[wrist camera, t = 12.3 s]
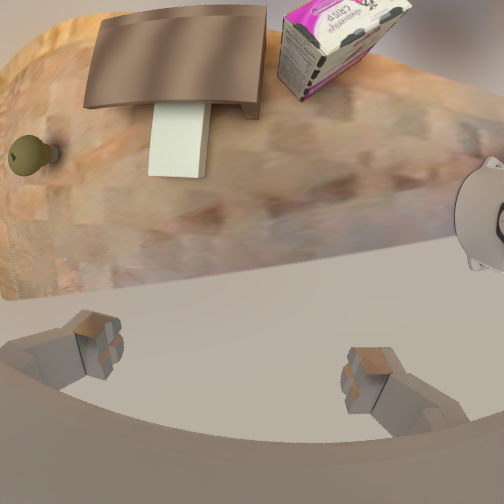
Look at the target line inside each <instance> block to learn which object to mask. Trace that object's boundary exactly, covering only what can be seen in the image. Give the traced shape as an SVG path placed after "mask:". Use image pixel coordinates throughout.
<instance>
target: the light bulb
mask: <svg viewBox="0 0 504 504" xmlns="http://www.w3.org/2000/svg"><path fill="white" fill-rule="evenodd" d="M58 157H59V150H58V148H56V147H50V146H48V145H47V144H44V143H43V142H42V141H41V140H40V139H39V138H37V137H35V136H33V135H25V136H22V137H20V138H19V139H17V140H16V141H15V142H14V143H13V145H12V146H11V148H10V151H9V155H8V162H9V166H10V168H11V170H12V171H13V172H14V173H15V174H17V175H19V176H29V175H32V174H34V173H35V172H36V171H38V170H39V169H40V168H41V167H42V166H44V165H46V164H47V163H54V162H56V161H57V159H58Z"/></svg>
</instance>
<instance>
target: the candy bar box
mask: <svg viewBox="0 0 504 504" xmlns="http://www.w3.org/2000/svg"><path fill="white" fill-rule="evenodd" d="M411 7H412V5H411V4H410V3H409V2H408V1H407V0H310V1H308V2H307V3H305V4H303V5H301V6H299V7H298V8H296V9H294V10H292V11H291V12H289V13H287V14H286V15H284V18H283V29H282V38H281V47H280V49H281V50H280V56H279V66H278V75H277V76H278V78H279V79H280V80H281V81H282V82H283V83H284V84H285V85H286V86H287V87H288V88H289V89H290V90H291V91H292V92H293V93H294V95H295V96H296V97H297V98H298V99H299V100H300V101H301V102H303V101H304V100H305V99H307V98H308V97H309V96H311V95H312V94H313V93H315V92H316V91H318V90H319V89H320V88H322V87H323V86H324V85H326V84H327V83H329V82H330V81H331V80H333V79H334V78H336V77H337V76H338V75H340V74H341V73H343V72H344V71H346V70H347V69H349V68H350V67H351V66H353V65H354V64H356V63H358V62H359V61H361V60H362V58H363V57H364V56H365V55H366V54H367V53H368V52H369V51H370V49H371V48H372V47H373V46H374V45H375V44H376V43H377V42H378V41H379V40H380V39H381V38H382V36H384V35H385V33H387V31H388V30H389V29H390V28H391V27H392V26H393V25H394V24H395V23H396V22H397V21H398V20H399V19H400V18H401V17H402V16H403V15H404V14H405V13H406V12H407V11H408V10H409V9H410V8H411Z"/></svg>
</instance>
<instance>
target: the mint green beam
mask: <svg viewBox="0 0 504 504" xmlns="http://www.w3.org/2000/svg"><path fill="white" fill-rule="evenodd" d="M211 106H212V103H159V104H155V106H154V114H153V123H152V133H151V144H150V156H149V171H148V176H172V177H192V178H200V177H205V168H206V156H207V145H208V135H209V125H210V115H211Z"/></svg>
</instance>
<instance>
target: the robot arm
mask: <svg viewBox="0 0 504 504" xmlns="http://www.w3.org/2000/svg"><path fill="white" fill-rule="evenodd" d="M455 227H456V233H457V237H458V239H459V242H460V244H461V246H462V247H463V249H464V250H465V252H466V254H467V257H468V263H469V267H470V269H471V270H474V271H480V270H485V269H490V268H491V269H493V270H495V271H497V272H499V273H501V274H504V164H502V163H501V162H500V161H499V160H498V159H496V158H495V157H492V156H489V157H487V158H486V160H485V161H484V163H483V165H482V167H480V168H479V169H478V170H476V171H474V172H473V173H471V174H470V175H469V176H468V177H467V179H466V180H465V182H464V183H463V185H462V187H461V189H460V192H459V195H458V198H457V202H456V208H455ZM120 330H121V322H120V320H119V319H118V318H117V317H113V316H109V315H105V314H101V313H97V312H94V311H90V310H81V311H80V312H79V313H78V314H77V315H76V316H75V317H73V318H72V319H71V320H70V321H69V322H68V323H67V324H65V325H64V326H63V327H62V328H61V329H60V328H55V329H51V330H48V331H44V332H41V333H37V334H33V335H30V336H26V337H22V338H19V339H15V340H11V341H8V342H7V343H6V344H4V345H3V346H2V347H1V348H0V504H504V411H502V412H499V413H496V414H493V415H490V416H487V417H484V418H481V419H477V420H474V421H471V422H470V420H469V419H468V417H467V416H466V414H465V412H464V411H463V409H462V407H461V406H460V404H459V403H458V402H457V401H456V400H454V399H452V398H450V397H449V396H447V395H446V394H444V393H442V392H440V391H439V390H437V389H435V388H434V387H432V386H431V385H429V384H427V383H425V382H424V381H422V380H421V379H419V378H417V377H415V376H414V375H412V374H410V373H409V374H407V373H406V371H405V370H404V368H403V366H402V364H401V363H400V361H399V359H398V357H397V356H396V354H395V353H394V351H393V349H392V348H390V347H378V348H351V349H350V350H349V353H348V356H347V358H348V361H349V363H348V364H347V365H345V366H344V368H343V371H342V374H341V389H342V392H343V393H344V394H346V395H347V396H346V398H345V403H346V408H347V411H348V414H370V413H371V415H372V416H373V417H374V418H375V419H376V420H377V421H378V422H379V423H380V424H381V425H382V426H383V427H384V428H385V429H386V430H387V431H388V432H389V433H390V434H391V435H392V436H393V437H394V438H387V439H378V440H369V441H358V442H341V443H284V442H268V441H267V442H266V441H255V440H244V439H236V438H228V437H221V436H214V435H207V434H202V433H196V432H191V431H186V430H181V429H176V428H171V427H166V426H163V425H158V424H154V423H151V422H147V421H143V420H139V419H136V418H132V417H129V416H126V415H122V414H119V413H116V412H113V411H110V410H107V409H104V408H101V407H98V406H95V405H93V404H90V403H87V402H84V401H82V400H80V399H77V398H74V397H72V396H70V395H67V394H65V393H62V392H60V391H59V390H60V389H62V388H64V387H66V386H68V385H70V384H71V383H73V382H75V381H77V380H79V379H81V378H83V377H85V376H86V375H88V376H92V377H95V378H98V379H102V380H106V379H107V378H108V376H109V375H110V373H111V372H112V371H113V366H112V365H113V364H115V363H118V362H119V361H120V359H121V357H122V354H123V351H124V342H123V338H122V337H121V335H120V334H119V331H120Z"/></svg>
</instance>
